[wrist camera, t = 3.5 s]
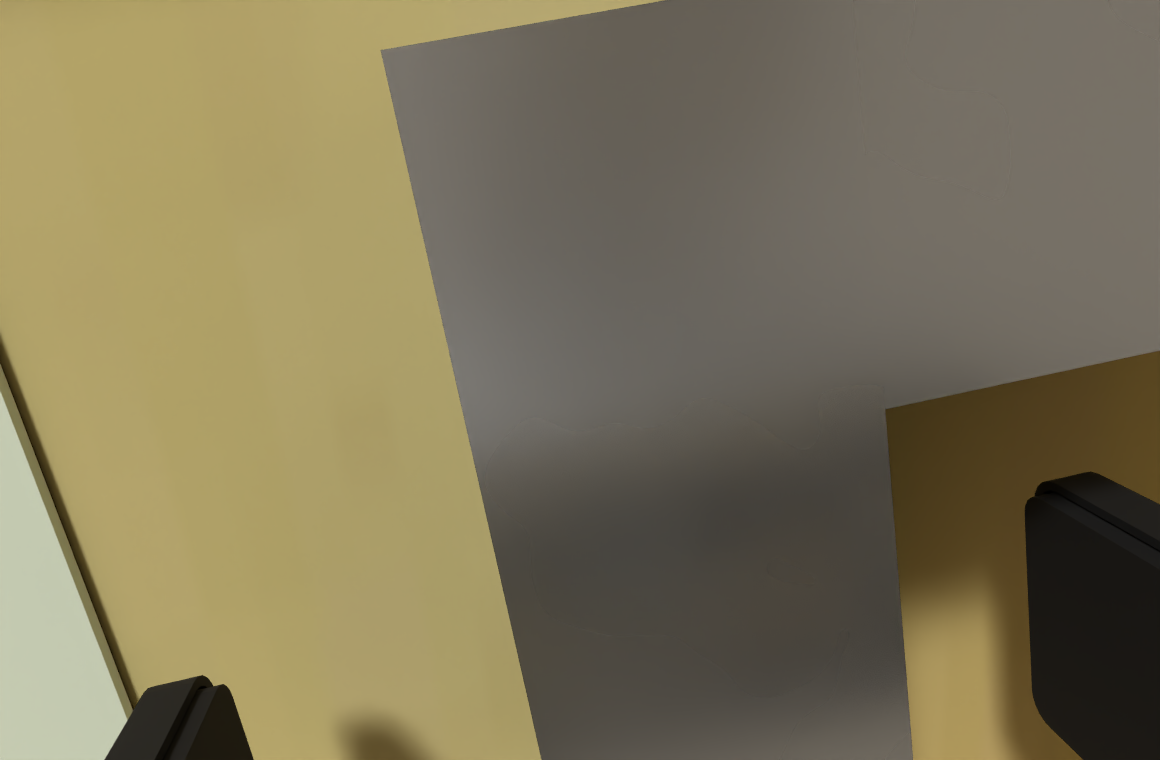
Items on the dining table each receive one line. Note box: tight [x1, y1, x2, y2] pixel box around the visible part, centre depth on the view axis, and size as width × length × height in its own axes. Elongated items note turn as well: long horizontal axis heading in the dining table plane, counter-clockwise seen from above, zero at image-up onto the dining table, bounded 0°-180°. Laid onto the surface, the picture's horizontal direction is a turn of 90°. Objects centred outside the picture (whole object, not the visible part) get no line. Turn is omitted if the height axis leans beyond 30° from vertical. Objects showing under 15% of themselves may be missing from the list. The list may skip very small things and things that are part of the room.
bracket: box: [381, 0, 1160, 760], centre depth 9 cm, size 10×9×5 cm
